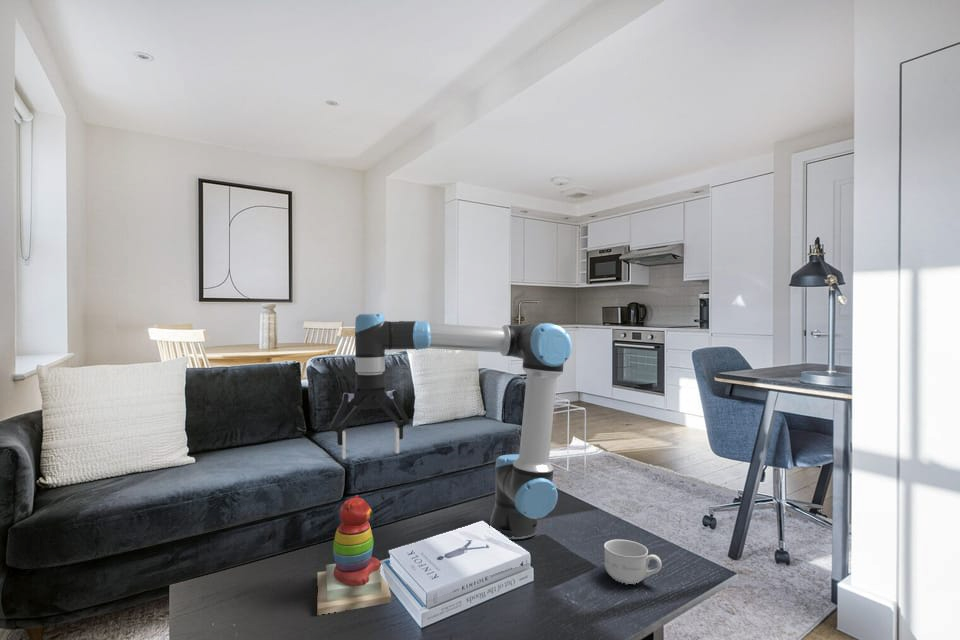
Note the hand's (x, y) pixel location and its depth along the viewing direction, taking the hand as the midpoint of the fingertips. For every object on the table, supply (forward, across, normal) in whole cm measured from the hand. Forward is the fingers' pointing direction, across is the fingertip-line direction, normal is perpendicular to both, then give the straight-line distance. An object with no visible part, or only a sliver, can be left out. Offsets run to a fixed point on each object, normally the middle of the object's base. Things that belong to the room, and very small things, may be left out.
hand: (370, 454), depth 123 cm
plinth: (+30, +6, +8) cm, 31 cm away
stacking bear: (+26, +5, +8) cm, 28 cm away
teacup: (+31, -61, +27) cm, 74 cm away
